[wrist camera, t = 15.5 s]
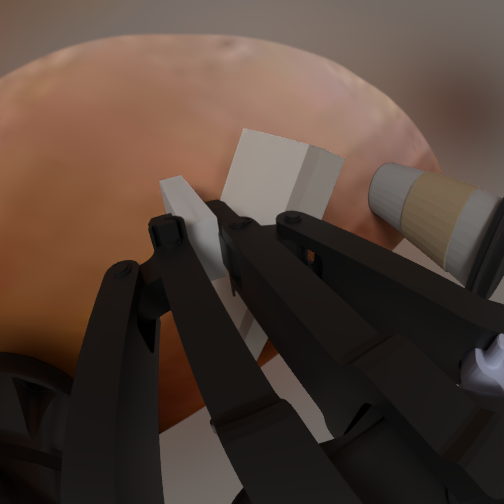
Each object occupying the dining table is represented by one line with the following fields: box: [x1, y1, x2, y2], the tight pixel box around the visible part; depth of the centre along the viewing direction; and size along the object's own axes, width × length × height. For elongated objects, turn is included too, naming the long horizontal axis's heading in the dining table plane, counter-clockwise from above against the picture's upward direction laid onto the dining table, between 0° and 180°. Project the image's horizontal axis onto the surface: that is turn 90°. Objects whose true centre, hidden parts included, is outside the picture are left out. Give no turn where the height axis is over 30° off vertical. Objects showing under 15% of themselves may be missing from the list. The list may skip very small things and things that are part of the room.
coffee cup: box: [369, 163, 504, 300], centre depth 20 cm, size 9×9×15 cm
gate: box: [211, 128, 345, 361], centre depth 16 cm, size 14×1×8 cm, turn 161°
